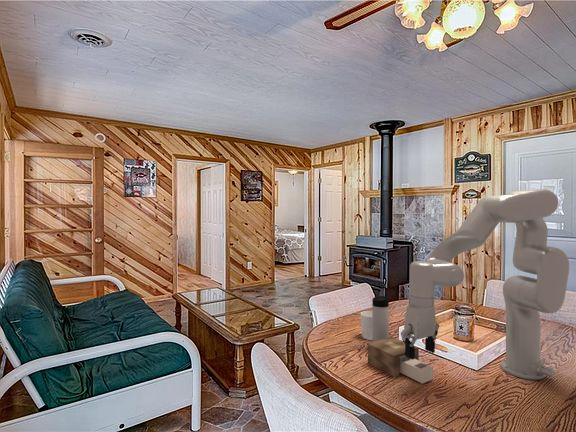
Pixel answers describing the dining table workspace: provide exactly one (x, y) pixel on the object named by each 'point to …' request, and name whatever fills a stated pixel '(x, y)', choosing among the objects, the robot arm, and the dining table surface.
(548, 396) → the dining table surface
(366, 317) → the white cup
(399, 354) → the box
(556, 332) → the dining table surface
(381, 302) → the travel mug
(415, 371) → the cream rectangular block
